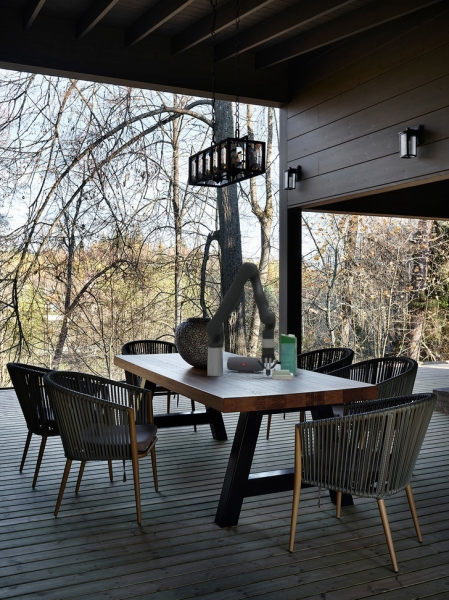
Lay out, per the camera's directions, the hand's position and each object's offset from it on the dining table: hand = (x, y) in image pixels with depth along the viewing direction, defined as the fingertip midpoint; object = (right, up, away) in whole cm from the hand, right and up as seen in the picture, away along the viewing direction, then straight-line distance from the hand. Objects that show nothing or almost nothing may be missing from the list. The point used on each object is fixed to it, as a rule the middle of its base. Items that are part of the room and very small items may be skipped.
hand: (268, 375), depth 373 cm
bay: (+9, -2, -1) cm, 9 cm away
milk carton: (+14, -2, +16) cm, 21 cm away
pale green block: (+7, -2, 0) cm, 8 cm away
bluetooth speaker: (-12, -2, +28) cm, 31 cm away
